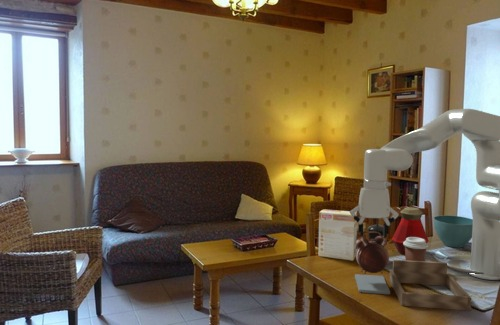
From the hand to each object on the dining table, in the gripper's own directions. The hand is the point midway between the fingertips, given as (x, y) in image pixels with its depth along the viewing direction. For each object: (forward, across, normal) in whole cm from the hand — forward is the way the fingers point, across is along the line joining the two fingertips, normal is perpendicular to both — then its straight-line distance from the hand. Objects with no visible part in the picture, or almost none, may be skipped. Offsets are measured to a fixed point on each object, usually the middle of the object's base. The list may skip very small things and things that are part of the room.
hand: (373, 235), depth 138 cm
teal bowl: (+18, -46, -56) cm, 74 cm away
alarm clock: (+14, 0, 0) cm, 14 cm away
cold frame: (+18, -17, +5) cm, 25 cm away
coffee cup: (+18, -19, -19) cm, 33 cm away
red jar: (+18, -22, -40) cm, 49 cm away
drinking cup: (+18, -6, -28) cm, 34 cm away
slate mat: (+18, 0, 0) cm, 18 cm away
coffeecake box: (+18, +10, -30) cm, 37 cm away
